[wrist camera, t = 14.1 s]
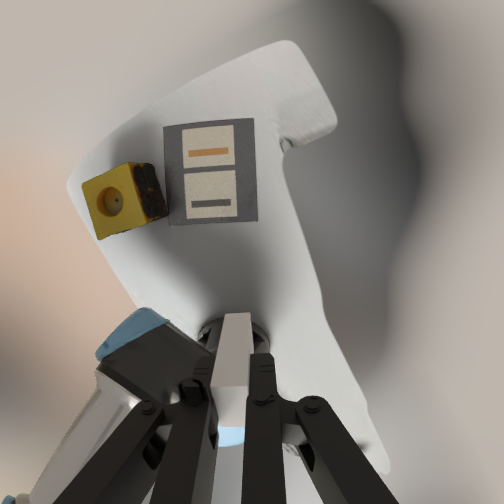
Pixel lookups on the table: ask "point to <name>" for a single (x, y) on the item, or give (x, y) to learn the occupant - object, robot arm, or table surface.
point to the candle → (124, 199)
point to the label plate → (210, 172)
